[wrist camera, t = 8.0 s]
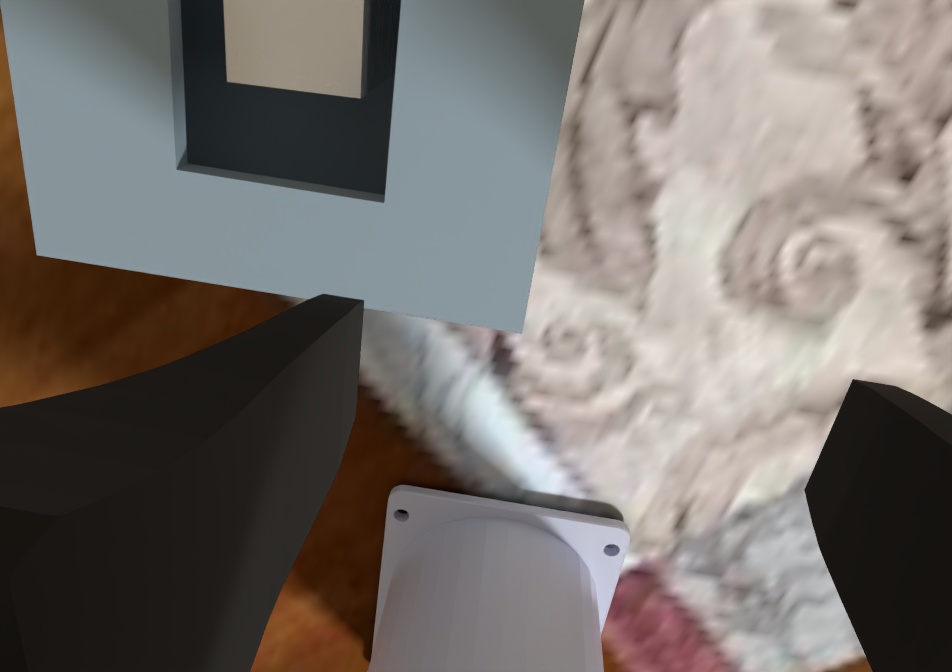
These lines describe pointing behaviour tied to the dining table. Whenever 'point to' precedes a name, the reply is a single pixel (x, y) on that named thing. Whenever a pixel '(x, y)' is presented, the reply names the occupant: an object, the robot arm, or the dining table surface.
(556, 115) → the grey tissue box
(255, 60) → the white block
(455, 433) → the dining table surface
